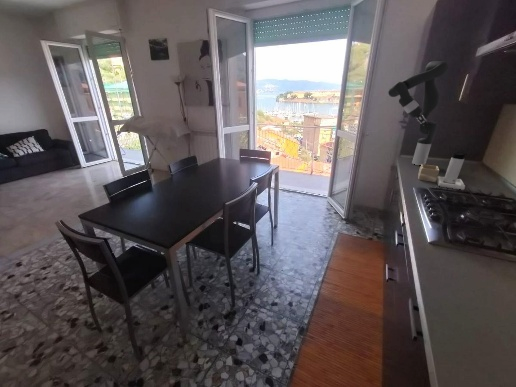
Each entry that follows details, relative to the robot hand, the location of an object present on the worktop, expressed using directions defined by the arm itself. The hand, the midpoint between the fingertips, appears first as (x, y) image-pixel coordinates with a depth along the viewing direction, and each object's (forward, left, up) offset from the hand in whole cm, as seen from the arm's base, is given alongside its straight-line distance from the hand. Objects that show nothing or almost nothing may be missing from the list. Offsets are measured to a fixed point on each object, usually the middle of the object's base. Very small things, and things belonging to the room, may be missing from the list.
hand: (428, 128), depth 151 cm
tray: (+8, +19, -33) cm, 39 cm away
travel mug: (+8, +19, -32) cm, 38 cm away
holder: (+2, +7, -33) cm, 34 cm away
